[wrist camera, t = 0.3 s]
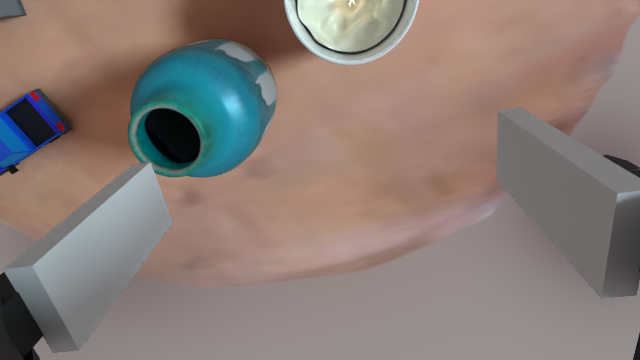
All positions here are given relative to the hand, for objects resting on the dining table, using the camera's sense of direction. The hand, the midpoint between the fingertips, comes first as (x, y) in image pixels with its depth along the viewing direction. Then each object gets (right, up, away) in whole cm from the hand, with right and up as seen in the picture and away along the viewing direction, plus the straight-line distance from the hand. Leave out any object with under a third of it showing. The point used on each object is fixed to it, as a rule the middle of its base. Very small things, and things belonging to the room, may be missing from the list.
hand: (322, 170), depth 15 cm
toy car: (-35, +5, +32) cm, 47 cm away
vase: (-9, +10, +28) cm, 32 cm away
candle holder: (+3, +18, +24) cm, 30 cm away
